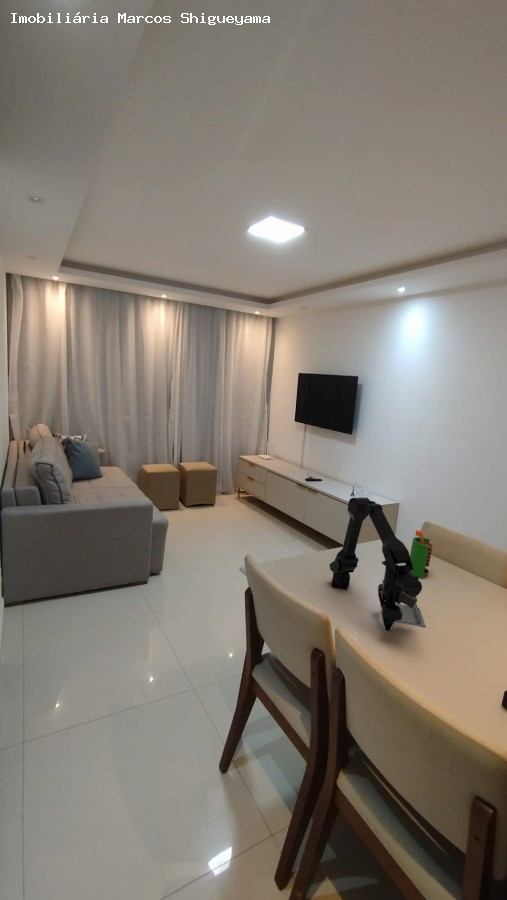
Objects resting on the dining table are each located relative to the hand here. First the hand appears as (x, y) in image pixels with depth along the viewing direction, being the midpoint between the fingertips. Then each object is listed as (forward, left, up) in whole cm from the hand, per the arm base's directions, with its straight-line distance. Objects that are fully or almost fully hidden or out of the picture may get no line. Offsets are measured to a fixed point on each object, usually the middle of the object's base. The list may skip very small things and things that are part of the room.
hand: (385, 623), depth 141 cm
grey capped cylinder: (0, 0, -1) cm, 1 cm away
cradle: (+8, +10, -1) cm, 13 cm away
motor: (+19, +49, -2) cm, 53 cm away
